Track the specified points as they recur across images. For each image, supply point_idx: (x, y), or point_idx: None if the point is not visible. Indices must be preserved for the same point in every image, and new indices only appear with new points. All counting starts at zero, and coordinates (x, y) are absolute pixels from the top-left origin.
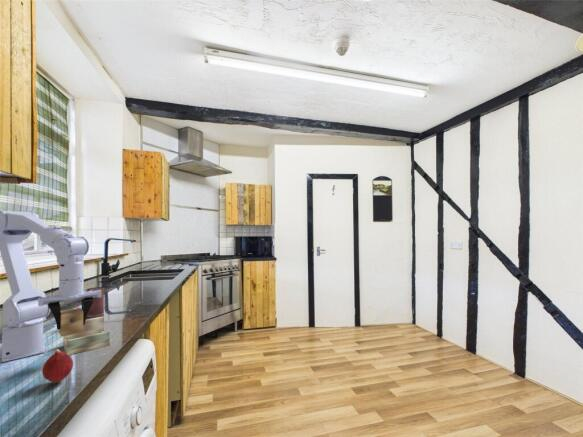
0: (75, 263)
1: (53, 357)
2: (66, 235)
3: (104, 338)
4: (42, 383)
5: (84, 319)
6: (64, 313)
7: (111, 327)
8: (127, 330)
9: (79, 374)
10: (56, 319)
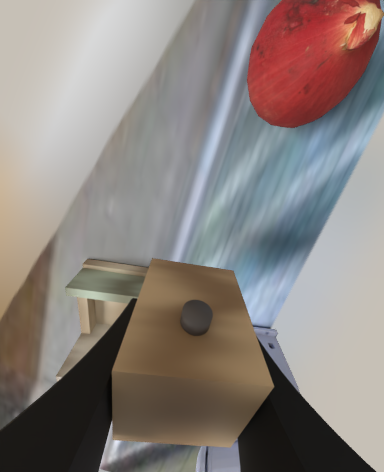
0: None
1: (378, 6)
2: None
3: (90, 277)
4: (295, 129)
5: (125, 317)
6: (240, 399)
7: (66, 358)
8: (32, 319)
9: (211, 94)
10: (273, 363)
